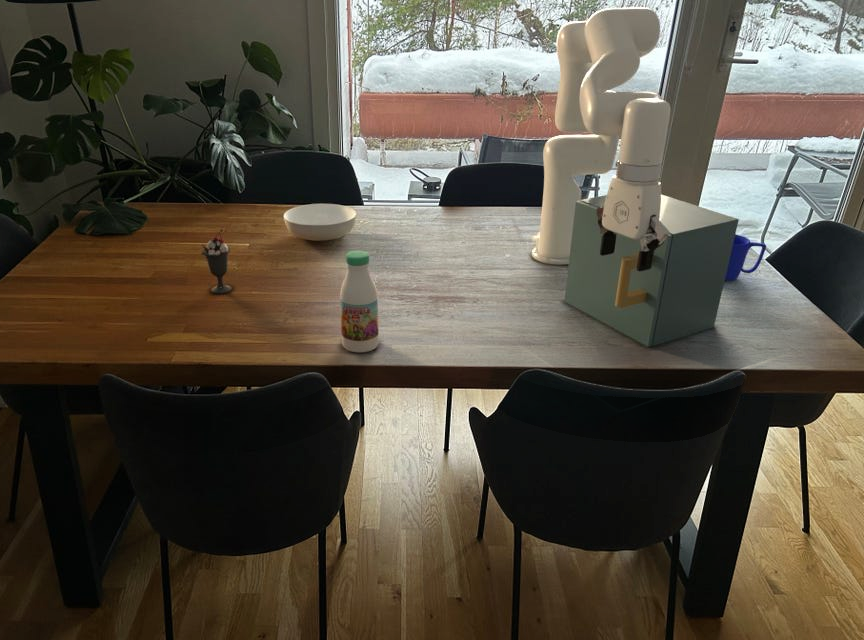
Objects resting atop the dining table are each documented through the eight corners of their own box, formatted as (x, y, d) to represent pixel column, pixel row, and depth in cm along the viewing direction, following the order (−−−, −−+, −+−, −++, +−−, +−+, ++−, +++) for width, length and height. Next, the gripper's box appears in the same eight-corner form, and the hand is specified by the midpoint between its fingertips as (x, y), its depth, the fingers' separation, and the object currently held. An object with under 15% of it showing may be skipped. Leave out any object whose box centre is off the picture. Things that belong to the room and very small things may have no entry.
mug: (761, 285, 173) (771, 246, 169) (708, 282, 176) (717, 243, 171) (753, 273, 180) (762, 235, 176) (702, 270, 183) (710, 232, 178)
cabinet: (652, 346, 147) (673, 234, 136) (568, 301, 167) (580, 199, 156) (714, 327, 154) (738, 219, 143) (626, 286, 175) (641, 188, 163)
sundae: (240, 286, 178) (233, 228, 171) (224, 296, 173) (216, 237, 165) (218, 282, 180) (211, 225, 173) (202, 292, 175) (193, 233, 168)
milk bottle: (341, 337, 153) (337, 248, 143) (377, 335, 153) (375, 246, 144) (342, 354, 146) (338, 262, 137) (380, 352, 147) (378, 260, 137)
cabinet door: (622, 355, 144) (640, 242, 132) (540, 307, 164) (550, 206, 153) (651, 346, 147) (672, 235, 136) (567, 300, 167) (579, 200, 156)
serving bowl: (355, 248, 201) (354, 224, 197) (280, 249, 201) (278, 225, 198) (358, 224, 219) (358, 202, 216) (290, 225, 219) (288, 203, 216)
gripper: (589, 165, 135) (578, 251, 143) (659, 185, 121) (644, 280, 129) (619, 160, 138) (607, 245, 146) (691, 179, 124) (674, 272, 132)
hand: (624, 261), depth 137 cm, fingers open, 9 cm apart
